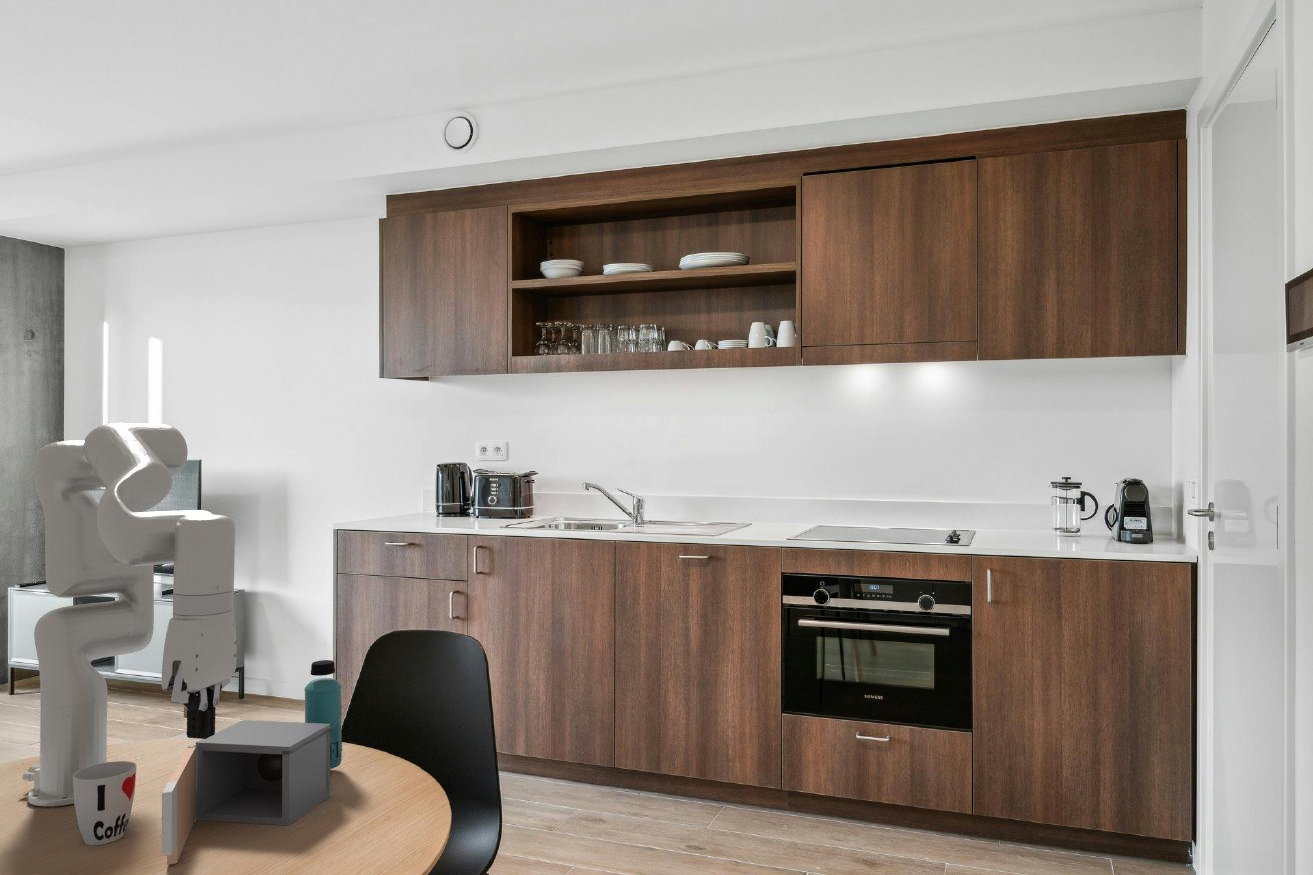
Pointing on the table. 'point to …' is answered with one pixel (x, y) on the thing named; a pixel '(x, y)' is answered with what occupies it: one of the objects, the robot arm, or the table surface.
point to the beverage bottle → (325, 706)
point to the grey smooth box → (262, 772)
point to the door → (179, 806)
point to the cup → (104, 800)
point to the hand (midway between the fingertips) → (200, 736)
